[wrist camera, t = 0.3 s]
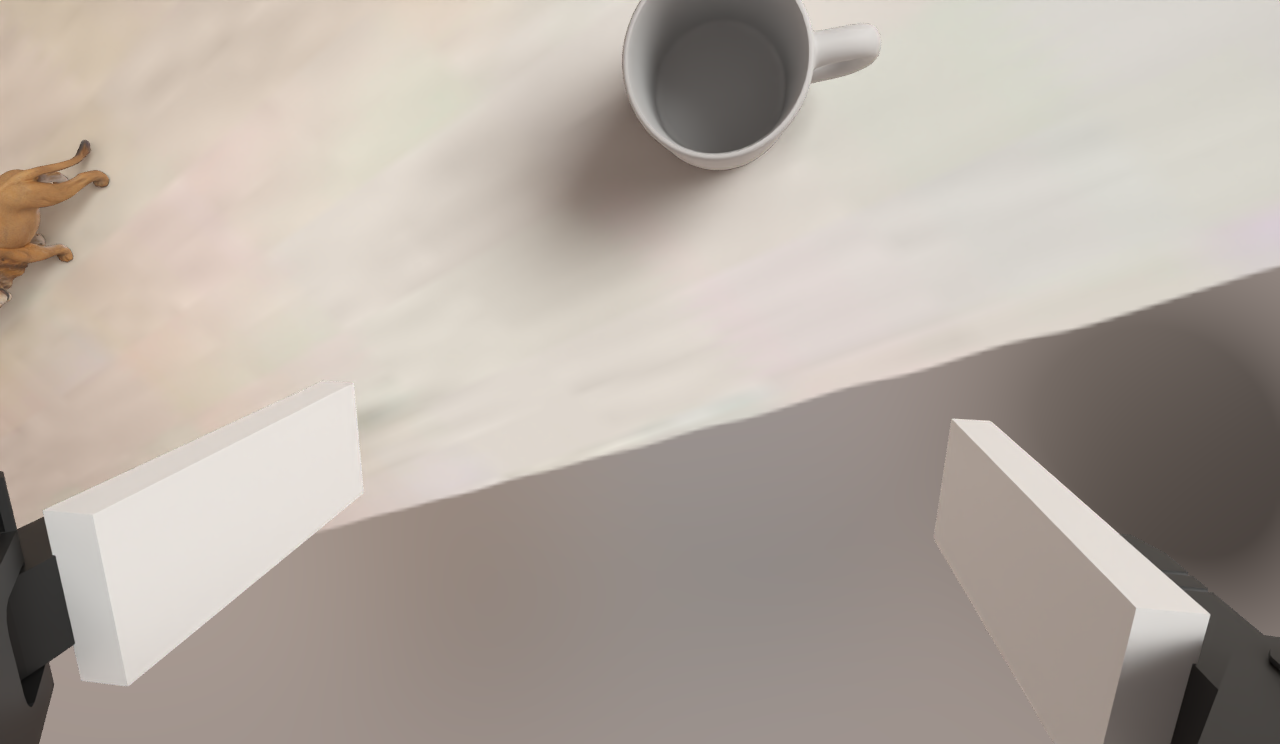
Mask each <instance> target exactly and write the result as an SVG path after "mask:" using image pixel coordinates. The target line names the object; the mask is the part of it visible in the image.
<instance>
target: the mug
mask: <svg viewBox="0 0 1280 744" xmlns="http://www.w3.org/2000/svg"><path fill="white" fill-rule="evenodd" d="M880 49H881V37H880V33H879V31H878V29H877V27H875V26H874V25H871V24H869V23H861V24H852V25H846V26H841V27H836V28H831V29H825V30H818V31H813V29H812V25H811V22H810V18H809V15H808V12H807V10H806V8H805V6H804V3H803V1H802V0H641V1H640V2H639V4H638V6H637V7H636V9H635V11H634V13H633V15H632V18H631V20H630V23H629V25H628V28H627V32H626V36H625V39H624V46H623V54H622V69H623V79H624V84H625V89H626V93H627V96H628V99H629V102H630V105H631V107H632V109H633V111H634V113H635V115H636V117H637V118H638V120H639V121H640V122H641V124H642V125H643V127H644V128H645V129H646V130H647V132H648V133H649V134H650V135H651V136H652V137H653V138H654V139H655V140H656V141H658V142H659V143H660V144H661V145H662V146H664V147H665V148H667V149H668V150H669V151H671V152H672V153H673V154H674V155H675V156H676V157H678V158H679V159H681V160H683V161H684V162H686V163H688V164H690V165H693V166H696V167H699V168H702V169H708V170H727V169H732V168H737V167H740V166H743V165H745V164H748V163H750V162H752V161H753V160H755V159H757V158H758V157H760V156H761V155H762V154H764V153H765V152H766V151H767V150H768V149H769V148H771V147H772V146H773V144H774V143H775V142H776V141H777V140H778V138H779V137H780V136H781V134H782V133H783V131H784V130H785V129H786V128H787V127H788V125H789V124H790V123H791V122H792V121H793V119H794V117H795V116H796V114H797V113H798V111H799V110H800V108H801V106H802V104H803V102H804V100H805V98H806V95H807V92H808V89H809V86H810V84H811V83H815V82H820V81H825V80H829V79H834V78H838V77H842V76H846V75H849V74H852V73H854V72H857V71H859V70H861V69H864V68H866V67H867V66H869V65H870V64H872V63H873V62H874V61H875V60H876V58H877V57H878V56H879V52H880Z"/></svg>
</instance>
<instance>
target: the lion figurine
mask: <svg viewBox="0 0 1280 744" xmlns="http://www.w3.org/2000/svg"><path fill="white" fill-rule="evenodd" d="M89 152H90V143H89V142H88V141H87V140H83V141H82V142H81V144H80V147H79V149H78V151H77V154H76V156H75V157H73V158H72V159H70V160H67V161H64V162H60V163H56V164H50V165H46V166H40V167H36V168H32V169H28V170H11V171H7V172H5V173H4V174H2V175H1V176H0V308H1V306H2V305H3V304H4V303H6V302H8V301H10V300H11V298H12V295H11V294H10V293H9V292H7V291H6V290H7V289H9V288H10V287H12V281H13V279H14V278H16V277H18V276H20V275H22V274H23V273H24V272H25V268H26V267H27V266H28V263H32V262H36V261H41V260H44V259H47V258H49V257H52V256H54V255H57V256H58V257H59V259H60V260H61V261H66V262H68V261H70V260H72V259H73V255H72V252H71V250H70V249H69V248H68V247H66V246H65V245H62V244H56V245H50V246H45V239H44V238H43V236H42V235H40V234H37V233H36V232H37V230H38V227H39V224H40V210H39V208H40V207H48V206H52V205H55V204H58V203H60V202H63V201H65V200H67V199H69V198H71V197H72V196H74V195H75V194H76V193H77V192H79V191H80V190H81V189H82V188H84V187H85V186H86V185H88V184H89V183H91V182H93V183H94V185H95V186H99V187H104V186H107V185H108V183H109V178H108V177H107V175H106V174H104V173H103V172H101V171H97V170H94V171H88V172H83V173H80V174H78V175H77V176H76V177H74V178H73V179H71V180H68V179H67V178H66V177H65V176H64V175H62V174H61V173H60V172H56V171H59V170H63V169H66V168H68V167H71V166H73V165H75V164H78V163H79V162H80V161H82V159H83V158H84V157H86V155H87V154H88V153H89ZM47 173H49V174H47ZM49 182H53V184H52V183H49Z"/></svg>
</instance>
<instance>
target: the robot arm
mask: <svg viewBox="0 0 1280 744" xmlns="http://www.w3.org/2000/svg"><path fill="white" fill-rule="evenodd" d="M363 493H364V488H363V477H362V466H361V455H360V444H359V433H358V422H357V411H356V400H355V389H354V382H337V381H321V382H319V383H316V384H314V385H312V386H310V387H308V388H306V389H303V390H301V391H299V392H297V393H295V394H293V395H290V396H288V397H286V398H284V399H282V400H280V401H278V402H275V403H273V404H271V405H269V406H267V407H265V408H262V409H260V410H258V411H256V412H254V413H252V414H249V415H247V416H245V417H243V418H241V419H239V420H236V421H234V422H232V423H230V424H228V425H226V426H224V427H221V428H219V429H217V430H215V431H213V432H211V433H208V434H206V435H204V436H202V437H200V438H198V439H195V440H193V441H191V442H189V443H187V444H185V445H182V446H180V447H178V448H176V449H174V450H172V451H169V452H167V453H165V454H163V455H161V456H159V457H157V458H154V459H152V460H150V461H148V462H146V463H144V464H141V465H139V466H137V467H135V468H133V469H131V470H128V471H126V472H124V473H122V474H120V475H118V476H115V477H113V478H111V479H109V480H107V481H105V482H103V483H100V484H98V485H96V486H94V487H92V488H90V489H87V490H85V491H83V492H81V493H79V494H77V495H74V496H72V497H70V498H68V499H66V500H64V501H61V502H59V503H57V504H55V505H53V506H51V507H49V508H46V509H44V510H42V511H43V515H44V517H42V518H40V519H38V520H36V521H34V522H32V523H30V524H28V525H25V526H23V527H21V528H19V529H17V527H16V523H15V519H14V515H13V511H12V506H11V502H10V498H9V494H8V490H7V486H6V481H5V477H4V473H3V472H2V471H0V744H39V742H40V738H41V733H42V730H43V726H44V722H45V718H46V714H47V711H48V707H49V703H50V699H51V695H52V691H53V687H54V683H53V678H52V673H51V669H50V665H49V661H51V660H52V659H53V658H55V657H57V656H58V655H60V654H61V653H62V652H64V651H65V650H67V649H68V648H70V647H71V646H73V647H74V651H75V656H76V660H77V665H78V669H79V673H80V678H81V681H87V682H95V683H104V684H112V685H120V686H129V685H130V684H132V683H133V682H134V681H135V680H137V679H138V678H139V677H140V676H141V675H143V674H144V673H145V672H146V671H148V670H149V669H150V668H151V667H152V666H154V665H155V664H156V663H157V662H158V661H160V660H161V659H162V658H163V657H164V656H166V655H167V654H168V653H169V652H171V651H172V650H173V649H174V648H176V647H177V646H178V645H179V644H180V643H182V642H183V641H184V640H185V639H187V638H188V637H189V636H190V635H191V634H193V633H194V632H195V631H196V630H197V629H199V628H200V627H201V626H202V625H204V623H206V622H207V621H208V620H210V619H211V618H212V617H213V616H214V615H216V614H217V613H218V612H219V611H220V610H222V609H223V608H224V607H225V606H227V605H228V604H229V603H230V602H232V601H233V600H234V599H235V598H236V597H238V596H239V595H240V594H241V593H243V592H244V591H245V590H246V589H247V588H248V587H250V586H251V585H252V584H253V583H255V582H256V581H257V580H258V579H259V578H261V577H262V576H263V575H264V574H265V573H267V572H268V571H269V570H271V569H272V568H273V567H274V566H275V565H276V564H278V563H279V562H280V561H281V560H283V559H284V558H285V557H286V556H288V555H289V554H290V553H291V552H292V551H294V550H295V549H296V548H297V547H299V546H300V545H301V544H302V543H303V542H305V541H306V540H307V539H308V538H309V537H311V536H312V535H313V534H314V533H316V532H317V531H318V530H319V529H320V528H322V527H323V526H324V525H325V524H327V523H328V522H329V521H330V520H331V519H333V518H334V517H335V516H336V515H337V514H339V513H340V512H341V511H342V510H344V509H345V508H346V507H347V506H348V505H350V504H351V503H352V502H353V501H355V500H356V499H357V498H358V497H359V496H361V495H362V494H363ZM934 540H935V542H936V544H937V546H938V547H939V549H940V551H941V552H942V554H943V556H944V557H945V559H946V561H947V563H948V564H949V566H950V568H951V569H952V571H953V573H954V575H955V576H956V578H957V580H958V581H959V583H960V585H961V587H962V588H963V590H964V592H965V593H966V595H967V597H968V598H969V600H970V602H971V603H972V605H973V607H974V609H975V610H976V612H977V614H978V616H979V617H980V619H981V620H982V622H983V624H984V626H985V627H986V629H987V631H988V633H989V634H990V636H991V638H992V639H993V641H994V642H995V645H996V646H997V648H998V650H999V651H1000V653H1001V655H1002V657H1003V658H1004V660H1005V662H1006V663H1007V665H1008V667H1009V668H1010V670H1011V672H1012V674H1013V675H1014V677H1015V679H1016V680H1017V682H1018V684H1019V685H1020V687H1021V689H1022V691H1023V692H1024V694H1025V696H1026V697H1027V699H1028V701H1029V702H1030V704H1031V706H1032V708H1033V709H1034V711H1035V713H1036V715H1037V716H1038V718H1039V720H1040V721H1041V723H1042V725H1043V727H1044V728H1045V730H1046V731H1047V733H1048V735H1049V737H1050V738H1051V740H1052V742H1053V743H1054V744H1280V637H1273V636H1266V635H1263V634H1262V633H1261V632H1259V631H1258V630H1257V629H1256V628H1255V627H1253V626H1252V625H1251V624H1250V623H1249V622H1247V621H1246V620H1245V619H1244V618H1243V617H1241V616H1240V615H1239V614H1238V613H1237V612H1235V611H1234V610H1233V609H1232V608H1231V607H1229V606H1228V605H1227V604H1226V603H1224V602H1223V601H1222V600H1221V599H1220V598H1218V597H1217V596H1216V595H1215V594H1214V593H1211V592H1208V589H1207V588H1206V587H1205V586H1204V585H1203V584H1202V583H1201V582H1199V581H1198V580H1197V579H1196V578H1194V577H1193V576H1188V572H1187V571H1186V570H1185V569H1184V568H1182V567H1181V566H1180V565H1179V564H1178V563H1176V562H1175V561H1174V560H1173V559H1172V558H1170V557H1169V556H1168V555H1167V554H1166V553H1164V552H1162V551H1161V550H1159V549H1157V548H1155V547H1153V546H1151V545H1149V544H1147V543H1145V542H1143V541H1141V540H1139V539H1137V538H1136V537H1134V536H1132V535H1126V534H1118V533H1117V532H1116V531H1115V530H1114V529H1113V528H1112V527H1110V526H1109V525H1108V524H1107V523H1106V522H1105V521H1104V520H1102V519H1101V518H1100V517H1099V516H1098V515H1097V514H1096V513H1095V512H1093V511H1092V510H1091V509H1090V508H1089V507H1088V506H1087V505H1085V504H1084V503H1083V502H1082V501H1081V500H1080V499H1079V498H1077V497H1076V496H1075V495H1074V494H1073V493H1072V492H1071V491H1070V490H1068V489H1067V488H1066V487H1065V486H1064V485H1063V484H1062V483H1060V482H1059V481H1058V480H1057V479H1056V478H1055V477H1054V476H1053V475H1051V474H1050V473H1049V472H1048V471H1047V470H1046V469H1045V468H1043V467H1042V466H1041V465H1040V464H1039V463H1038V462H1037V461H1036V460H1034V459H1033V458H1032V457H1031V456H1030V455H1029V454H1027V453H1026V452H1025V451H1024V450H1023V449H1022V448H1021V447H1020V446H1018V445H1017V444H1016V443H1015V442H1014V441H1013V440H1012V439H1011V438H1009V437H1008V436H1007V435H1006V434H1005V433H1004V432H1003V431H1001V430H1000V429H999V428H998V427H997V426H996V425H995V424H993V423H992V422H991V421H983V420H965V419H952V420H951V426H950V433H949V439H948V446H947V453H946V459H945V466H944V473H943V480H942V486H941V493H940V499H939V506H938V512H937V519H936V526H935V532H934Z"/></svg>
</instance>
